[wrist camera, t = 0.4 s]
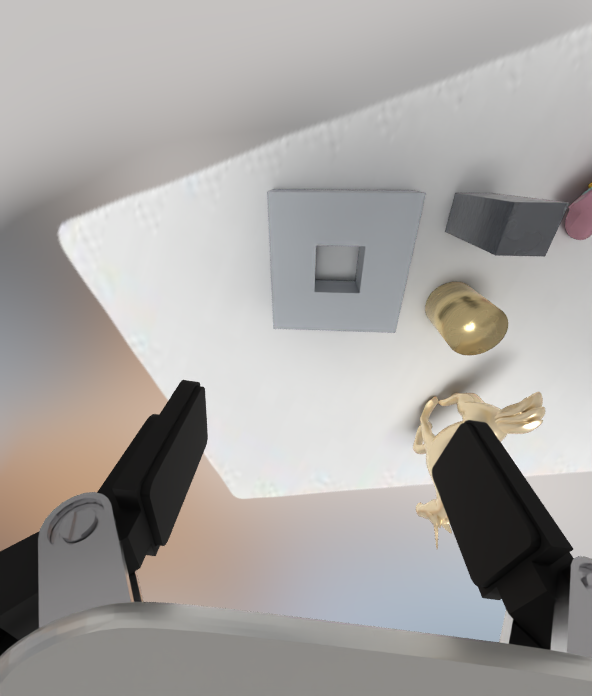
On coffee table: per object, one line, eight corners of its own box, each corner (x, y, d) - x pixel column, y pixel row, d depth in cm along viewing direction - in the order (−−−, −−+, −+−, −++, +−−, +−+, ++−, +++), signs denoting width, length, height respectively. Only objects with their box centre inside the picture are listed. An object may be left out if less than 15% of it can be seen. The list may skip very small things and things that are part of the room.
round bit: (481, 282, 32) (518, 306, 26) (465, 325, 35) (495, 356, 29) (431, 281, 33) (456, 305, 27) (420, 323, 36) (440, 354, 30)
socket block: (412, 190, 28) (425, 192, 25) (387, 317, 35) (395, 332, 32) (273, 189, 29) (267, 191, 25) (277, 314, 36) (273, 328, 33)
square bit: (493, 193, 28) (569, 202, 19) (480, 232, 30) (544, 256, 21) (455, 192, 28) (515, 202, 19) (445, 231, 30) (495, 255, 21)
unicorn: (488, 344, 37) (600, 457, 22) (509, 358, 37) (629, 476, 23) (384, 430, 46) (415, 548, 32) (403, 440, 47) (441, 559, 33)
